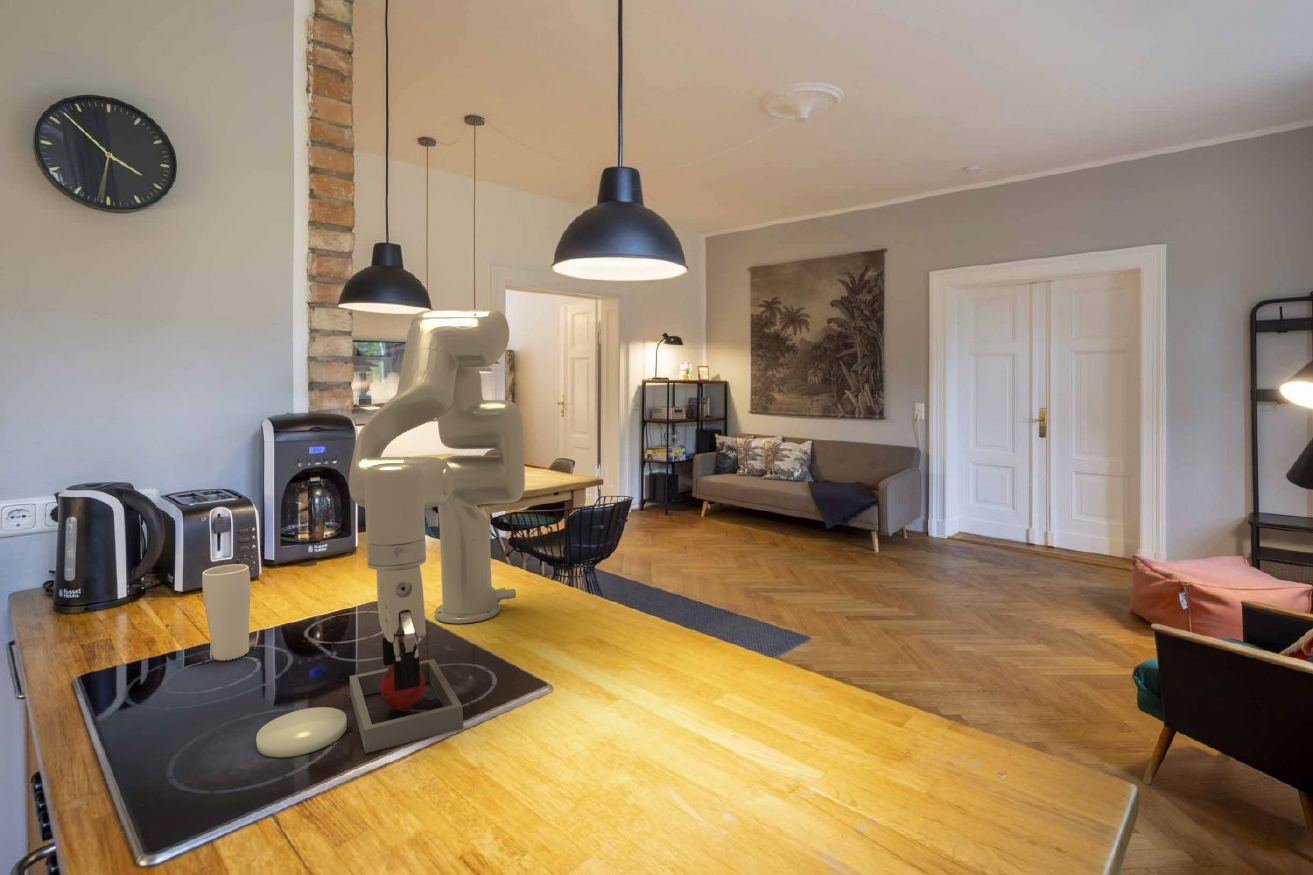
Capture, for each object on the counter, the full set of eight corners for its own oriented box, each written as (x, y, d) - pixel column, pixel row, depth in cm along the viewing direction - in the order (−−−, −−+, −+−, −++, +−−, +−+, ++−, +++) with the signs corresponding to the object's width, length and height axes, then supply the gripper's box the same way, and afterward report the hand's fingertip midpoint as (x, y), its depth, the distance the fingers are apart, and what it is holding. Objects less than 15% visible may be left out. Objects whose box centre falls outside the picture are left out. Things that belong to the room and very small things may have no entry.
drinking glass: (231, 665, 110) (226, 575, 109) (197, 662, 111) (191, 573, 110) (263, 649, 116) (258, 564, 115) (230, 646, 118) (225, 563, 117)
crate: (434, 677, 104) (433, 658, 104) (463, 727, 89) (462, 706, 88) (350, 695, 98) (349, 676, 98) (365, 753, 83) (364, 730, 83)
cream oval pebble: (343, 708, 94) (342, 700, 94) (350, 742, 85) (350, 733, 85) (257, 728, 89) (256, 719, 89) (255, 766, 80) (255, 756, 80)
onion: (383, 725, 90) (381, 667, 89) (379, 707, 95) (377, 652, 94) (428, 715, 92) (426, 658, 92) (422, 698, 97) (420, 644, 97)
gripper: (438, 562, 86) (442, 692, 87) (413, 538, 101) (417, 650, 102) (375, 570, 82) (380, 706, 83) (359, 544, 97) (364, 660, 98)
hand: (401, 675), depth 93 cm, fingers open, 9 cm apart
